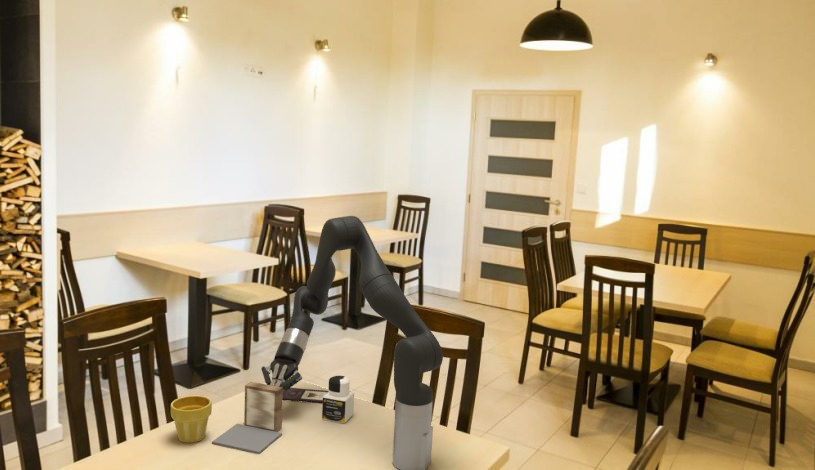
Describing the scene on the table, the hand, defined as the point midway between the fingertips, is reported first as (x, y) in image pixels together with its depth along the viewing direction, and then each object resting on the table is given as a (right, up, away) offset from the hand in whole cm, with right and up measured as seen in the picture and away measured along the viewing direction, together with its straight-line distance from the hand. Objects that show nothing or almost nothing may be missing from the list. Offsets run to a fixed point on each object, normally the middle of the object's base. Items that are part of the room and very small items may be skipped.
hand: (270, 401), depth 189 cm
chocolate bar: (+6, -4, +21) cm, 22 cm away
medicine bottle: (+18, -7, +7) cm, 20 cm away
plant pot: (-19, -7, -11) cm, 23 cm away
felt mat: (-4, -8, -10) cm, 13 cm away
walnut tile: (-2, -7, -3) cm, 7 cm away
